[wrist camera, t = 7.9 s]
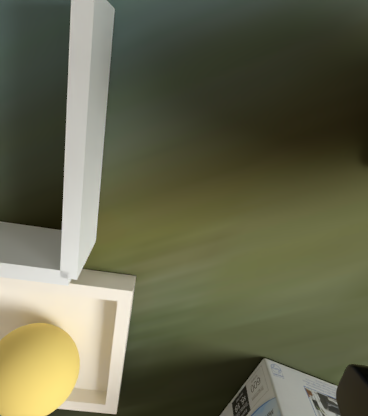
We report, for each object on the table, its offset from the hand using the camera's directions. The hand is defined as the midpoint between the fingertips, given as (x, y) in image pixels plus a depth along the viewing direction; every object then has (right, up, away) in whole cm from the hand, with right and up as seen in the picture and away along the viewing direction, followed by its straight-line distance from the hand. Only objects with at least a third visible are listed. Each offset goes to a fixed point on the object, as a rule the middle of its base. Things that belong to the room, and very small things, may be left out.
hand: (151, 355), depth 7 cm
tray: (-8, -5, +15) cm, 17 cm away
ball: (-8, -5, +14) cm, 17 cm away
